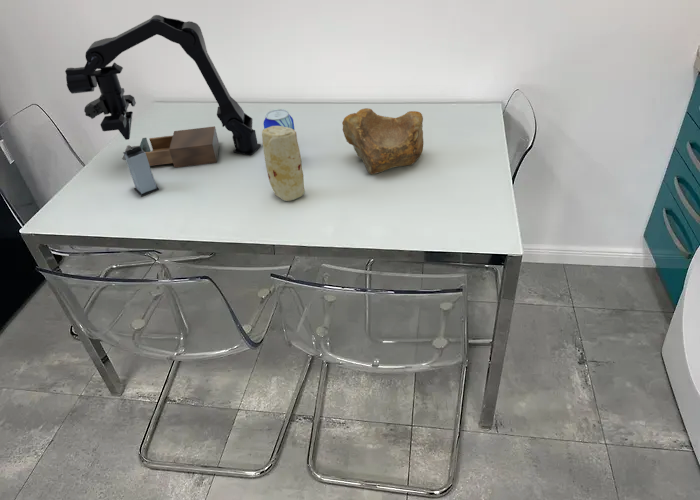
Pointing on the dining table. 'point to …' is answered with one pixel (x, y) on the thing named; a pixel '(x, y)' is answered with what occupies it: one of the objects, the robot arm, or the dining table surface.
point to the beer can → (278, 119)
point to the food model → (283, 162)
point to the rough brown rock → (384, 138)
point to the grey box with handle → (140, 171)
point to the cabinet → (194, 147)
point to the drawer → (156, 150)
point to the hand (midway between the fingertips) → (127, 139)
